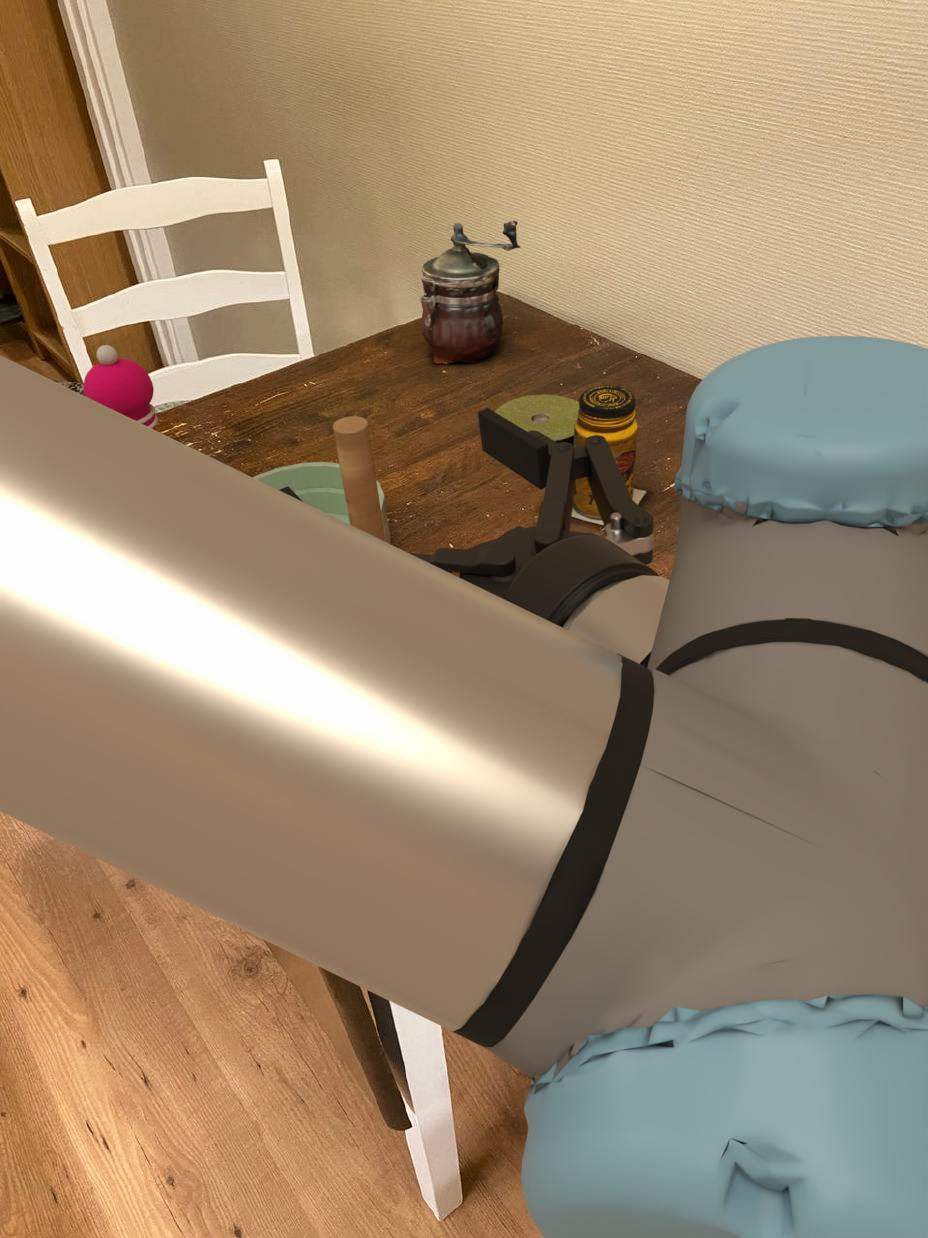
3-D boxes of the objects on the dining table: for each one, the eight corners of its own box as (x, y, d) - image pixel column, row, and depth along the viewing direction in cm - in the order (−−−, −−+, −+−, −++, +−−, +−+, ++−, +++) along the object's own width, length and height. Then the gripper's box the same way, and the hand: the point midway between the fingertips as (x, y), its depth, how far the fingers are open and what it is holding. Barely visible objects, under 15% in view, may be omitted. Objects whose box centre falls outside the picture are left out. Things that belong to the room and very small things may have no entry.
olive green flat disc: (596, 411, 105) (596, 396, 103) (582, 460, 97) (583, 444, 95) (503, 406, 107) (503, 391, 106) (482, 452, 99) (482, 437, 98)
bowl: (215, 608, 81) (198, 556, 77) (252, 514, 92) (239, 464, 88) (382, 604, 80) (373, 551, 76) (397, 509, 91) (391, 459, 87)
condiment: (620, 530, 86) (627, 419, 78) (541, 510, 90) (541, 402, 82) (646, 493, 91) (656, 384, 83) (571, 475, 94) (573, 370, 86)
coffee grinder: (501, 383, 112) (496, 236, 100) (405, 363, 118) (389, 222, 107) (547, 345, 120) (547, 204, 108) (455, 328, 126) (445, 193, 115)
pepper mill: (130, 520, 93) (62, 338, 80) (200, 506, 94) (144, 323, 81) (132, 559, 88) (59, 369, 75) (205, 542, 89) (147, 354, 76)
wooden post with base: (350, 684, 72) (302, 446, 58) (359, 638, 76) (316, 406, 62) (418, 682, 72) (386, 443, 57) (423, 636, 76) (395, 403, 62)
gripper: (374, 839, 37) (215, 598, 52) (806, 598, 45) (561, 451, 60) (335, 712, 32) (172, 487, 47) (825, 469, 40) (554, 344, 55)
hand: (390, 466), depth 53 cm, fingers open, 13 cm apart
